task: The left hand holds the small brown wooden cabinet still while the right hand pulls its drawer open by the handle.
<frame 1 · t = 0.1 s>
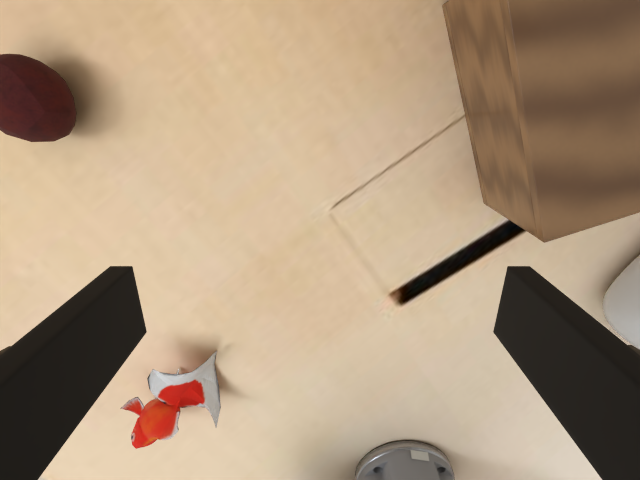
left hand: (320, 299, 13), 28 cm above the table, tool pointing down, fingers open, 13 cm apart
dark maroon ball: (56, 101, 36), on the table
cabinet: (514, 95, 36), on the table
fish: (185, 375, 50), on the table
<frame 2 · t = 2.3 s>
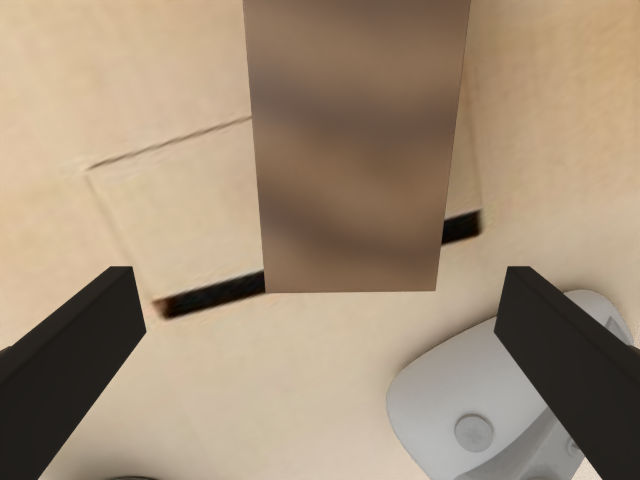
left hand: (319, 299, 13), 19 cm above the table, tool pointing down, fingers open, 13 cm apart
cabinet: (340, 105, 28), on the table
projector: (495, 361, 38), on the table
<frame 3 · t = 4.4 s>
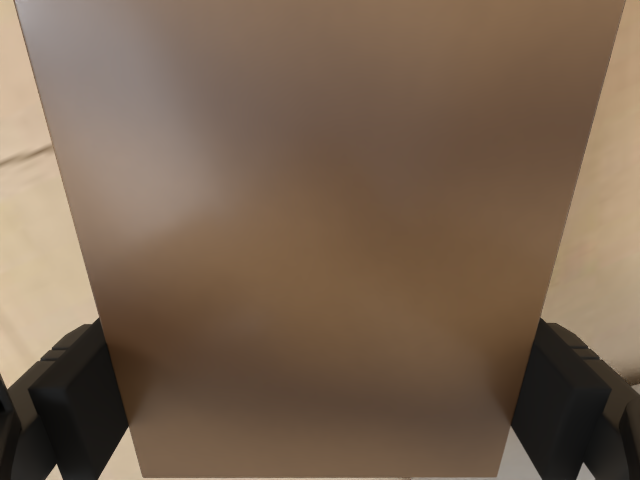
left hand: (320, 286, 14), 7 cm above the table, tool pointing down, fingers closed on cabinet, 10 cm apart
cabinet: (319, 94, 17), on the table, touching left hand
projector: (541, 462, 27), on the table
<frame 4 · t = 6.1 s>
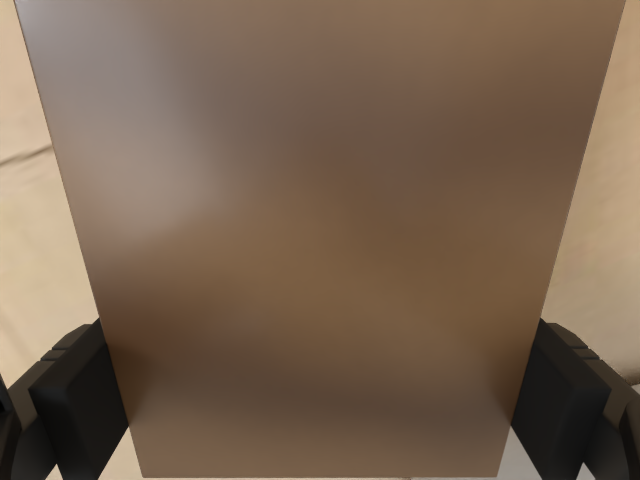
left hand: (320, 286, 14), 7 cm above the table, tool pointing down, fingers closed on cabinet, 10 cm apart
cabinet: (319, 94, 17), on the table, touching left hand
projector: (541, 462, 27), on the table
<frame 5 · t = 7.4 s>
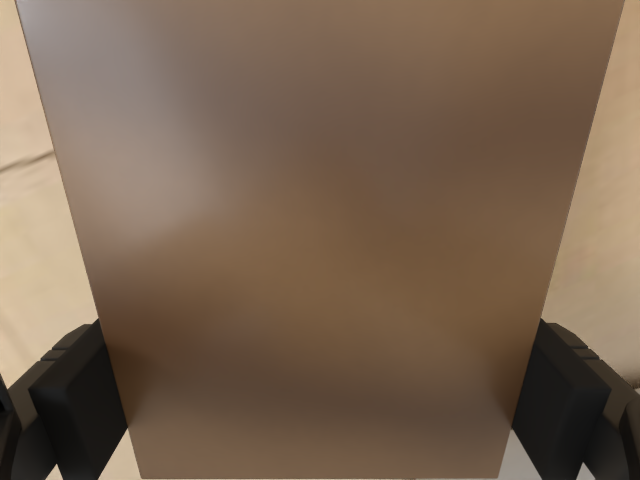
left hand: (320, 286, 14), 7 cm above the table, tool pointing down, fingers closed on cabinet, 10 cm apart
cabinet: (319, 95, 17), on the table, touching left hand
projector: (541, 466, 27), on the table
when the left hand's fingers open (7 cm above the table, at t = 9.4 s): cabinet stays where it is, on the table.
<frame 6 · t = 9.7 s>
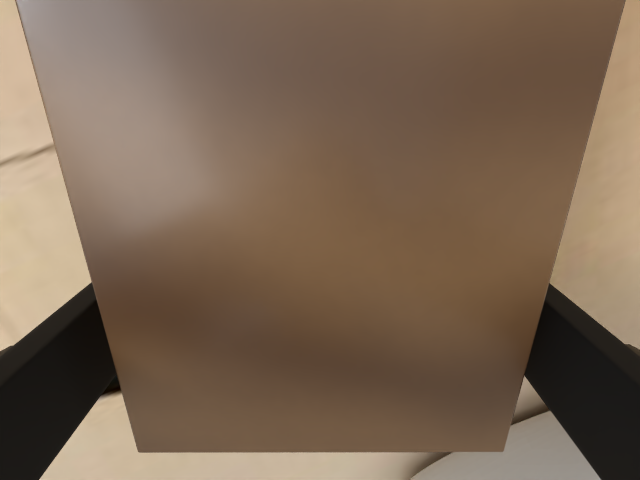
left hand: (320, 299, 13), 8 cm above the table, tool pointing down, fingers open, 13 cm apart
cabinet: (320, 72, 17), on the table
projector: (541, 461, 27), on the table
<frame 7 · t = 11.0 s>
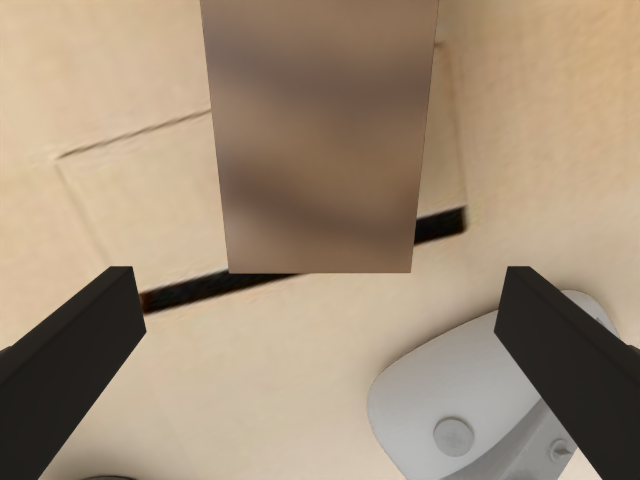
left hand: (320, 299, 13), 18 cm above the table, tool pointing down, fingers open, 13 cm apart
cabinet: (319, 81, 27), on the table
projector: (481, 362, 37), on the table
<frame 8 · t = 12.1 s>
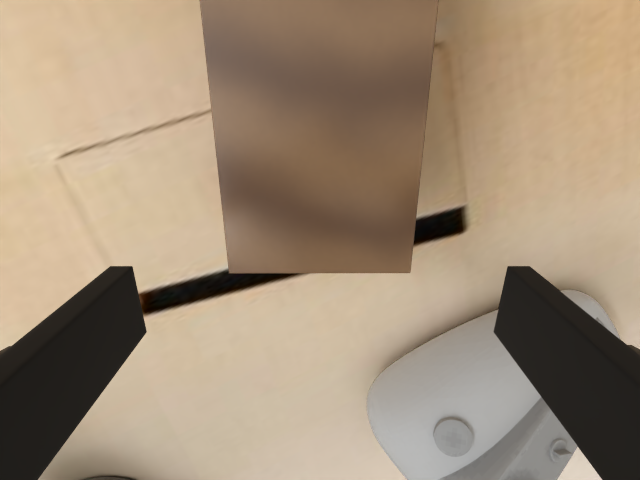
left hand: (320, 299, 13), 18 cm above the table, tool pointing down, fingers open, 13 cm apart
cabinet: (319, 81, 27), on the table
projector: (480, 362, 37), on the table
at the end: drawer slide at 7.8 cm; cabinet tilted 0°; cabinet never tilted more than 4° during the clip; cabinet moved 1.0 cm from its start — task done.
